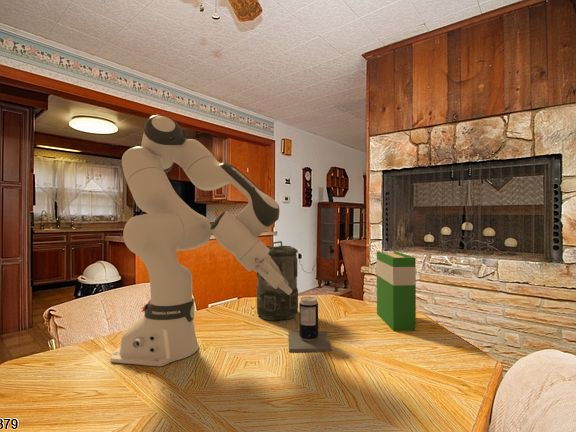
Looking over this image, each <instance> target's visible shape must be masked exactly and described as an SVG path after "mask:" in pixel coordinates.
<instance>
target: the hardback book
mask: <svg viewBox="0 0 576 432" xmlns="http://www.w3.org/2000/svg"><path fill="white" fill-rule="evenodd" d="M416 259H417V258H416V257H414V256H412V255H408V254H405V253H402V252H399V251H397V250H396V251H395V250H394V251H393V252H389V253H387V252H385V253H384V252H381V251H376V314H377V315H378V317H379V318H380V319H381V320H382V321H383V322H384V323H385V324H386V325H387V326H388V328H390V329H391V331H393V332H414V331H416V330H417V328H416V327H417V317H416V316H417V314H416V313H417V311H416V309H417V307H416V305H417V303H416V302H417V300H416V297H417V292H416V291H417V288H416V287H417V286H416V285H417V284H416V282H417V280H416V278H417V276H416V275H417V273H416V271H417V269H416V266H417V265H416V263H417V262H416Z"/></svg>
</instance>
